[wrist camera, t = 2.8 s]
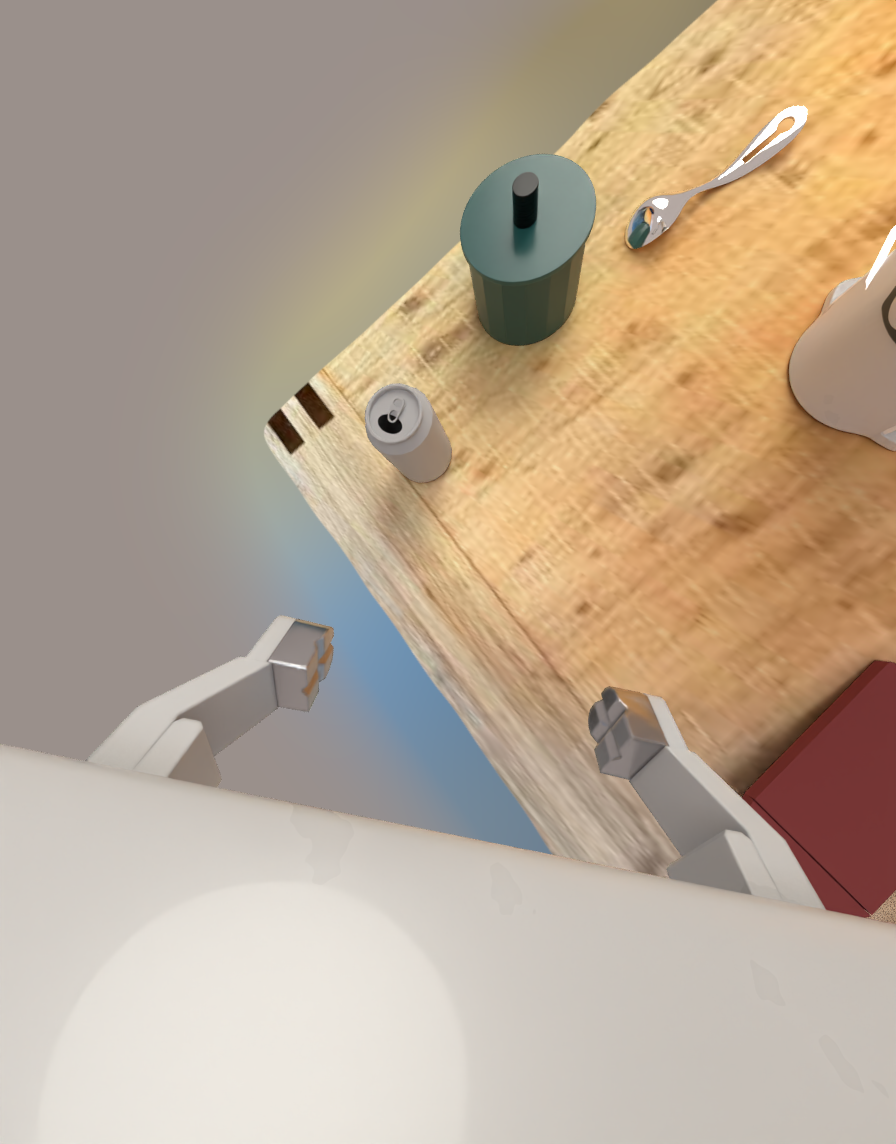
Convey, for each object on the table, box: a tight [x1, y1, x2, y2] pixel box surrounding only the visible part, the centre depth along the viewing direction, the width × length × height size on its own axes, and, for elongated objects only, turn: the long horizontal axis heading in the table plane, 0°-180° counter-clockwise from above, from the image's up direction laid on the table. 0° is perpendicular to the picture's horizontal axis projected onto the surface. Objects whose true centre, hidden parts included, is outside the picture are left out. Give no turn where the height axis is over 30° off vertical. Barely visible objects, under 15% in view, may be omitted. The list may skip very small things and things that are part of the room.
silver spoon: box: [625, 106, 807, 249], centre depth 39 cm, size 20×4×5 cm
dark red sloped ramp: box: [742, 661, 896, 918], centre depth 34 cm, size 12×5×25 cm
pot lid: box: [460, 154, 596, 286], centre depth 34 cm, size 13×13×4 cm
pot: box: [469, 244, 585, 345], centre depth 40 cm, size 12×12×10 cm
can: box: [365, 383, 452, 482], centre depth 41 cm, size 8×8×12 cm
